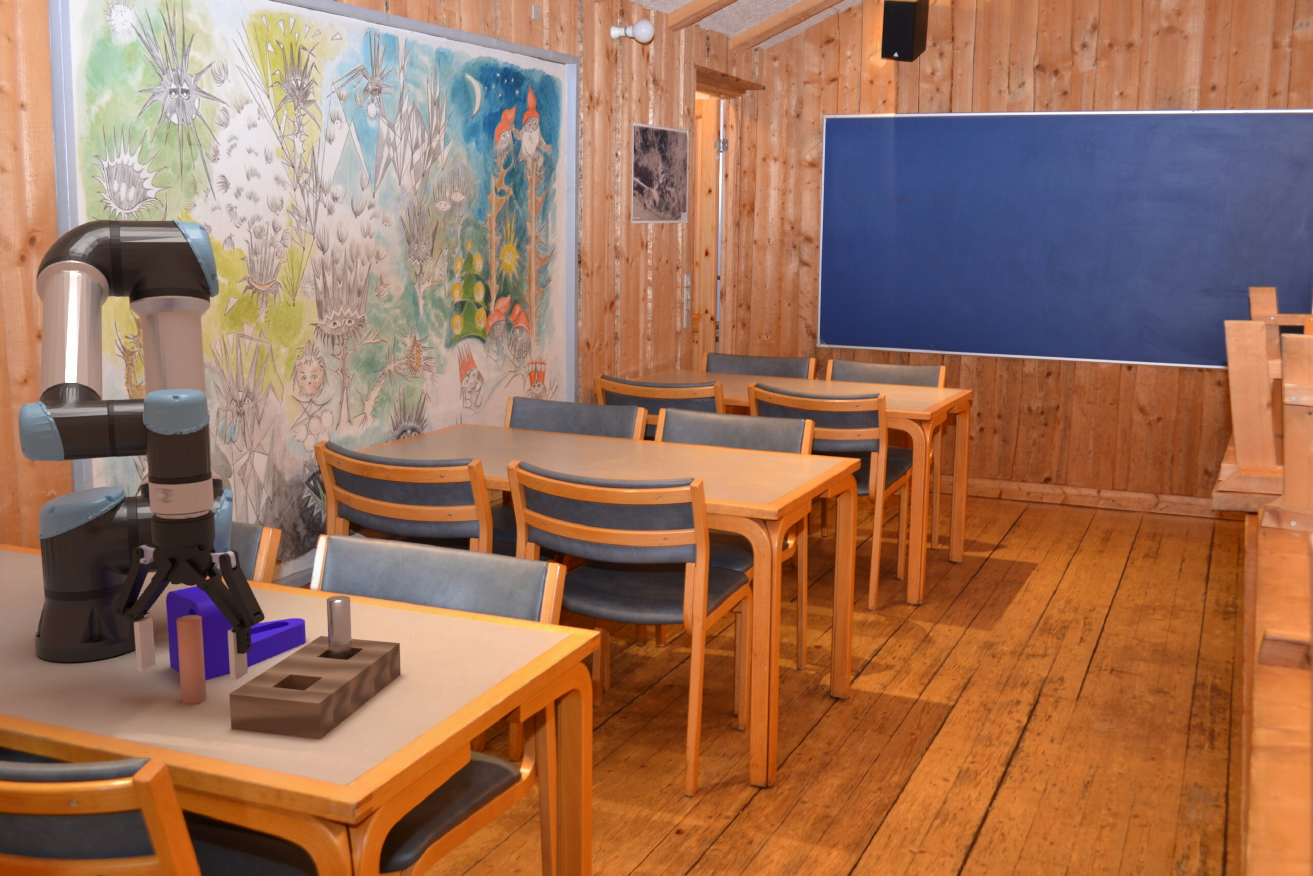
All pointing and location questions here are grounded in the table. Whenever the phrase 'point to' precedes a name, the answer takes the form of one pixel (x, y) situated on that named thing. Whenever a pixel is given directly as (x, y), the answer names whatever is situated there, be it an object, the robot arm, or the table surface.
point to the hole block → (314, 689)
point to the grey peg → (339, 627)
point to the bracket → (215, 627)
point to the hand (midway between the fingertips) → (192, 672)
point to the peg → (191, 659)
